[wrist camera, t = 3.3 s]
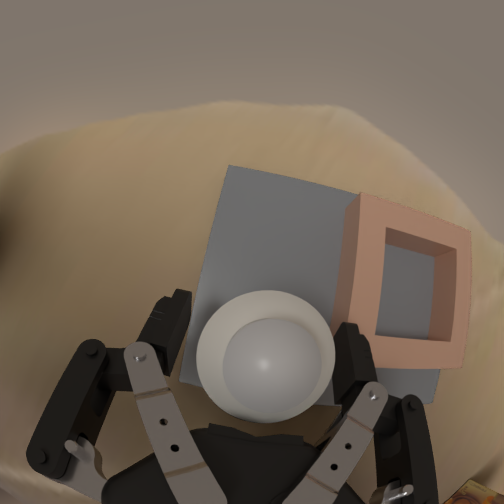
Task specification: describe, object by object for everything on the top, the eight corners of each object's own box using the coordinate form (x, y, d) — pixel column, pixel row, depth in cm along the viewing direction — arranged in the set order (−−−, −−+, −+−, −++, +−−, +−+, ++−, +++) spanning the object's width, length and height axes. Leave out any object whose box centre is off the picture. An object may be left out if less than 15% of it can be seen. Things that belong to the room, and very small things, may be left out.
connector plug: (208, 367, 17) (177, 423, 7) (223, 294, 18) (207, 270, 8) (282, 381, 17) (330, 443, 7) (297, 309, 18) (362, 300, 8)
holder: (181, 377, 18) (168, 392, 13) (229, 172, 21) (227, 142, 17) (424, 400, 18) (453, 410, 14) (443, 229, 21) (471, 215, 17)
